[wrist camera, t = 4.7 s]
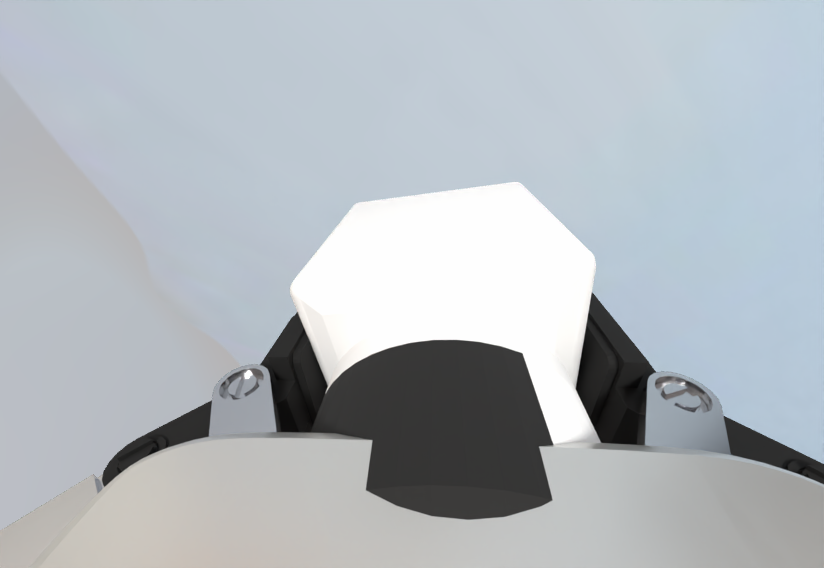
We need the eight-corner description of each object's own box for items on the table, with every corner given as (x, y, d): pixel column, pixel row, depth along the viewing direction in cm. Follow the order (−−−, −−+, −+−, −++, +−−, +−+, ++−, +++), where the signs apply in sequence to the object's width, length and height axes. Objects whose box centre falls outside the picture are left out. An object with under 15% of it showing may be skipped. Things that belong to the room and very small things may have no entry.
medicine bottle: (383, 329, 17) (300, 686, 7) (352, 201, 13) (64, 538, 3) (518, 320, 16) (665, 719, 6) (522, 178, 12) (939, 558, 2)
